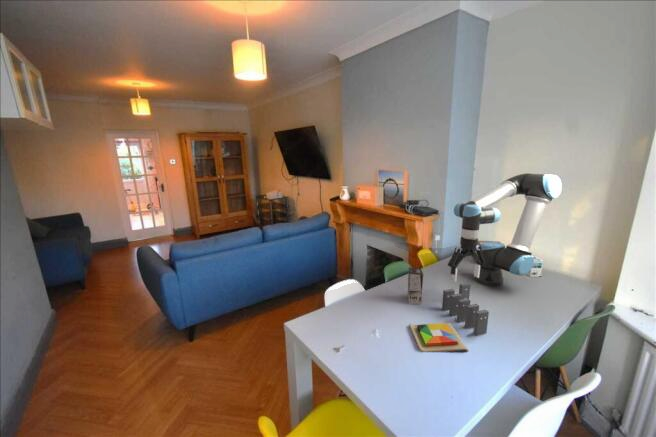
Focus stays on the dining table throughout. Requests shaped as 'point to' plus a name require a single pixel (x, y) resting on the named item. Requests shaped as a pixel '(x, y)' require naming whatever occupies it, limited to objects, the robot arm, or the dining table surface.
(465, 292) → the domino
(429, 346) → the wooden puzzle
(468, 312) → the domino
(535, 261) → the light bulb box
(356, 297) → the dining table surface
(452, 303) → the domino
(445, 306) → the domino
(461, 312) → the domino
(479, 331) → the domino
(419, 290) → the coffee box
